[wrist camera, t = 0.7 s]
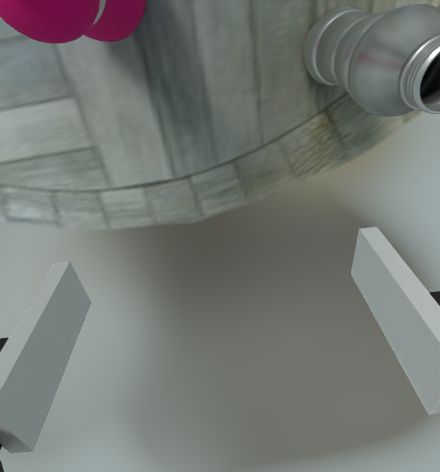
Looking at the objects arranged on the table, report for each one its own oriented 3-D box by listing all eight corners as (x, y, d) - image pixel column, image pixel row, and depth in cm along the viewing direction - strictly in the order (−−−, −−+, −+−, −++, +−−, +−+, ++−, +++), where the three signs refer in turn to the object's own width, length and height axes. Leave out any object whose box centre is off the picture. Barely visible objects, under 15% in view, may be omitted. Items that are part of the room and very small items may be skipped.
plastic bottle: (376, 30, 32) (553, 46, 16) (331, 92, 35) (439, 160, 19) (327, -10, 30) (472, -39, 14) (285, 60, 33) (361, 105, 17)
